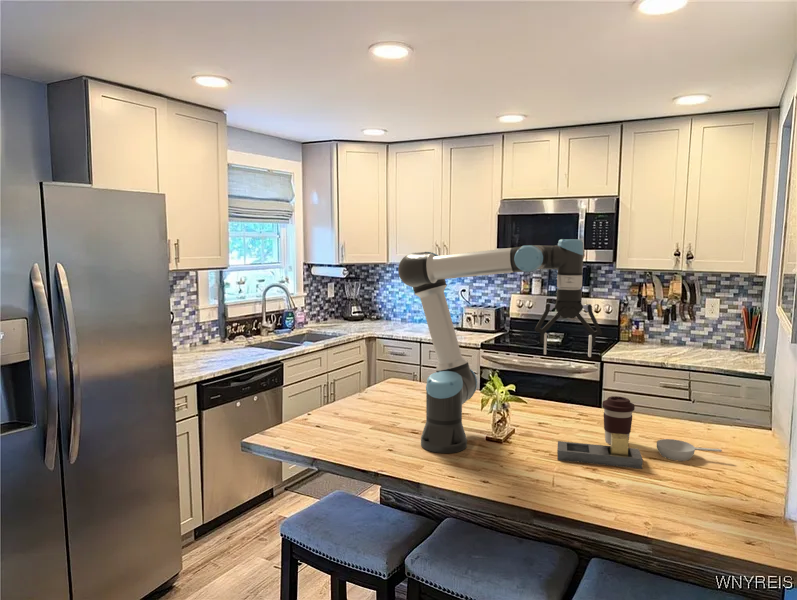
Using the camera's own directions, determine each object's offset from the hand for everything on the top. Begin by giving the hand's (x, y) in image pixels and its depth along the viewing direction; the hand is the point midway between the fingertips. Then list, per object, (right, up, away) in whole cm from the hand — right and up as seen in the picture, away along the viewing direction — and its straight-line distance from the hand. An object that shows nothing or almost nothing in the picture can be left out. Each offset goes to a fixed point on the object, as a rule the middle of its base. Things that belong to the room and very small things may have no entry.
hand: (567, 355), depth 175 cm
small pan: (+36, -32, -4) cm, 48 cm away
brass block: (+13, -32, -7) cm, 35 cm away
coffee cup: (+19, -30, +8) cm, 37 cm away
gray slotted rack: (+8, -32, -6) cm, 33 cm away
